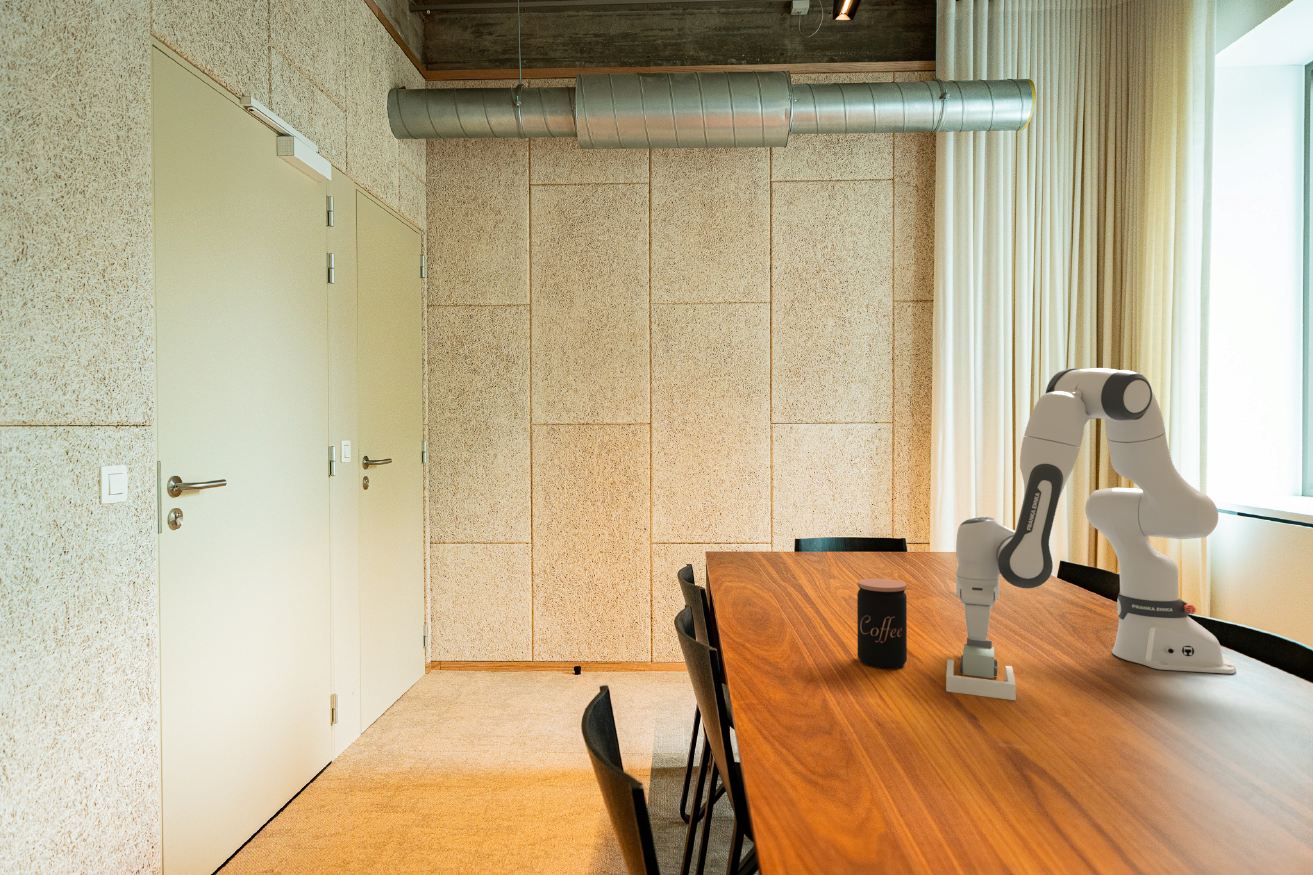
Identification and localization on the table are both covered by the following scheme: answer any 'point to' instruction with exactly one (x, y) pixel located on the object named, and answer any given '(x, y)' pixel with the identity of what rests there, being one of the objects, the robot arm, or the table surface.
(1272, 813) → the table surface
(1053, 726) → the table surface
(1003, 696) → the dock bay
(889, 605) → the coffee jar
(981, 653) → the sage cart
